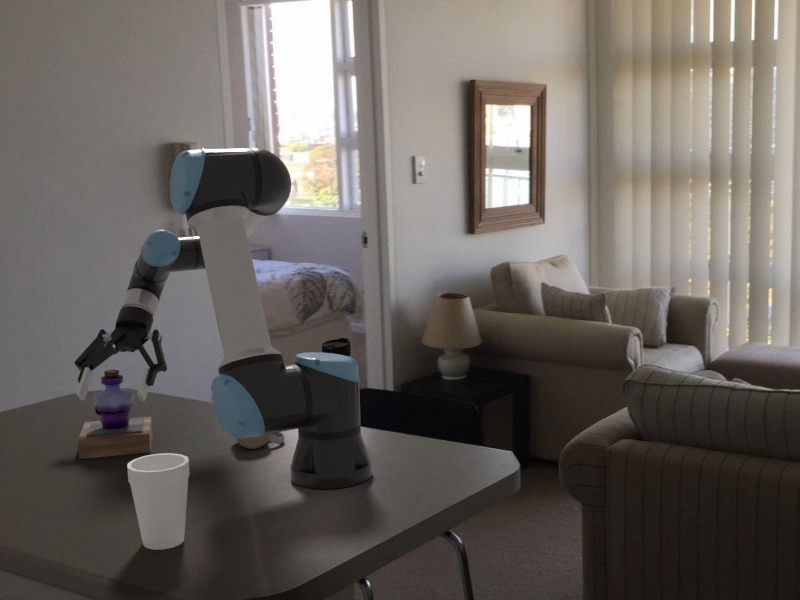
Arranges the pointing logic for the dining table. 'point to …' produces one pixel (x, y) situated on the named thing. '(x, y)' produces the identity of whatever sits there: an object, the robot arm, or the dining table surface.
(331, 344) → the travel mug
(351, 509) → the dining table surface
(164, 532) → the foam cup
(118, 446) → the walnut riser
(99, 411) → the potion bottle
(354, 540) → the dining table surface
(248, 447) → the ceramic mug
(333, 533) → the dining table surface
